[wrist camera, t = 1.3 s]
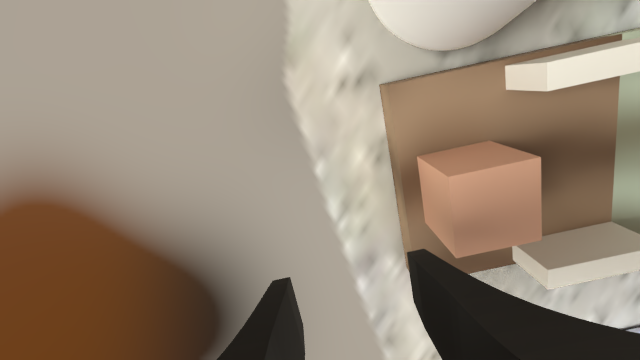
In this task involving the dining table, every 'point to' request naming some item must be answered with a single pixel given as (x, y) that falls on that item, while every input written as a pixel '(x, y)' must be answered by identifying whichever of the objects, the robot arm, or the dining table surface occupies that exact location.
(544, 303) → the dining table surface
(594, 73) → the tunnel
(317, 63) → the dining table surface
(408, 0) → the pill bottle
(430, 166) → the block
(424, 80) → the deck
